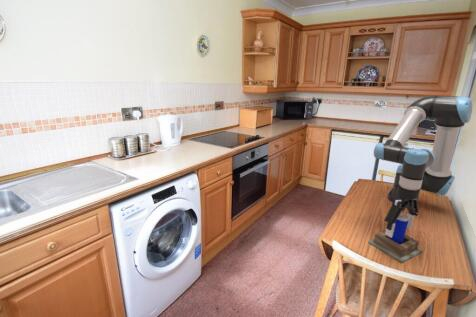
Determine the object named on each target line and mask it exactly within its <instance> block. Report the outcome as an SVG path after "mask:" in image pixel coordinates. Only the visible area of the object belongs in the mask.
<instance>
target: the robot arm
mask: <svg viewBox="0 0 476 317" xmlns="http://www.w3.org/2000/svg"><path fill="white" fill-rule="evenodd" d="M472 112H473V100H472V99H471V98H470V97H467V96H453V95H452V96H451V95H449V96H448V95H428V96H424V97H421V98H418V99H417V100H415V101H413V102H412V103H410V105H408V106H407V107H406V109H405V110H404V113H403V116H402V118H401V120H399V123H398V124H397V125H396V127H394V130H393V131H392V133H391V134H390V135H389V136H388V138H387V140H386V141H385V142H378V143H376V145H375V146H374V149H373V157H374V158H376V159H378V160H381V161H385V162H391V163H396V164H398V166H397V168H396V171H395V177H394V182H393V184H392V187H391V189H390V190H389V192H388V194H387V199H388V200H389V201H390V202H392V204H391V207H390V208H389V210H388V212H387V214H386V216H385V218H384V222H386V223H387V224H386V229H385V230H386V232H385V235H387V236H389V237H391V238H392V236H393V232H394V227H395V221H396V220H397V218H398V217H399V215H400V214H401V213H402V212H404V211H405V210H406V209H407V213H406V215H407V216H408V219H409V221H408V225H407V229H409V230H412V227H413V224H414V219H415V217H417V216H418V215H419V212H420V210H419V208H420V206H419V197H420V196H419V195H420V192H421V191H425V192H428V193H432V194H435V195H440V196H445V195H447V194H448V192H449V190H450V189H451V186H452V184H453V183H454V180H455V178H456V177H455V176H454V175H452V174H453V172H452V170H451V169H450V168H451V164H452V159H453V155H454V150H455V147H456V142H457V139H458V135H459V130H460V129H461V128H463V127H464V126H465V124H469V122H470V120H471V118H472ZM425 119H427V120H434V122H433V124H434V125H435V126H436V130H435V136H434V137H435V138H434V140H433V145H432V146H433V147H432V151H431V150H430V149H427V148H421V149H420V148H410V147H405V146H406V144H407V143H408V141H409V139H410V138H411V136H412V135H413V133H414V132H415V130H416V129H417V128H418V126H419V124H420V123H421V122H423V121H424V120H425Z"/></svg>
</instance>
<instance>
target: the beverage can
mask: <svg viewBox="0 0 476 317" xmlns="http://www.w3.org/2000/svg"><path fill="white" fill-rule="evenodd" d="M408 221H409V219H408V216H407V214H405V213H402V212H401V214H400V215H399V217H398V218H397V220H396V221H395V227H394V232H393V236H392V238H391V237H390V238H389V239H391V240H393V241H394V242H396V243H398V244H403V241H404V237H405V235H406V233H407V229H408V228H407V225H408Z"/></svg>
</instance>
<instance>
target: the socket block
mask: <svg viewBox="0 0 476 317" xmlns="http://www.w3.org/2000/svg"><path fill="white" fill-rule="evenodd" d="M385 232H386V229H385V230H382V231H379V232H378V233H375V235H374V238H372V239H370V240H368V244H370V245H371V246H372V247H374V248H375V249H378V250H379V251H381V252H382V253H384V254H386V255H387V256H389V257H390V258H392V259H394V260H395V261H397V262H398V263H400V264H404V263H405V262H407V261H409V260H411V259H413V258H415V257H417V256H419V255H420V254H422V253H423V252H424V251H423V250H422V249H421V248H419V244H420V241H419V240H418V239H415V238H413V237H411V236H409V235H407V234H405V237H404V241H403V244H398V243H396V242H394V241H393V240H391V239H389V238H390V237H389V236H387V235H385Z"/></svg>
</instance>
